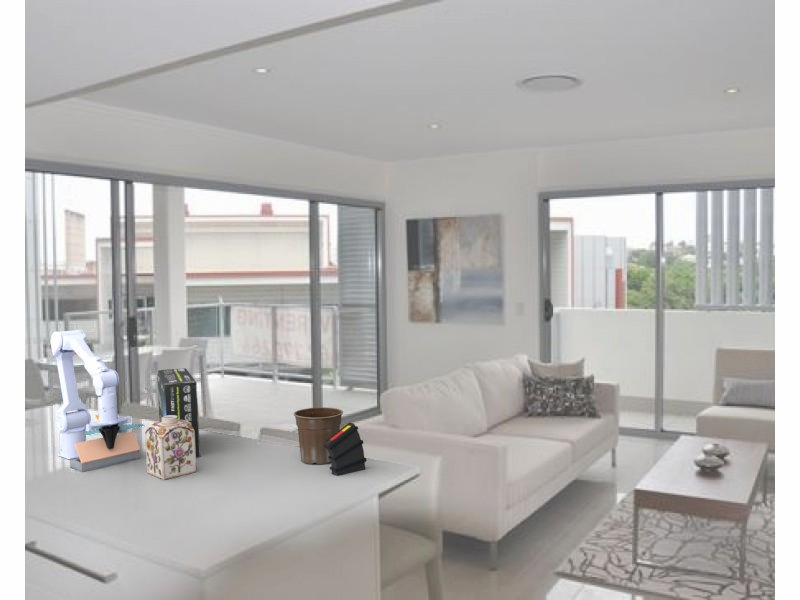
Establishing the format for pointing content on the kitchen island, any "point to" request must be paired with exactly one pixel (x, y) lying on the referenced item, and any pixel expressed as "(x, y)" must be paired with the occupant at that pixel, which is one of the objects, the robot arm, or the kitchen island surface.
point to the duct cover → (99, 450)
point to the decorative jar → (170, 448)
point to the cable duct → (103, 461)
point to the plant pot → (316, 432)
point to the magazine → (346, 450)
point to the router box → (179, 398)
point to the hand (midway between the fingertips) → (110, 448)
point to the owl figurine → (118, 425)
